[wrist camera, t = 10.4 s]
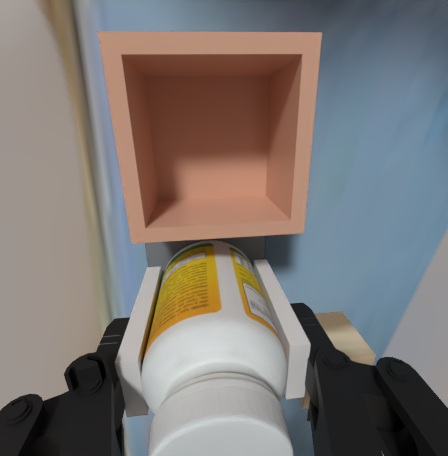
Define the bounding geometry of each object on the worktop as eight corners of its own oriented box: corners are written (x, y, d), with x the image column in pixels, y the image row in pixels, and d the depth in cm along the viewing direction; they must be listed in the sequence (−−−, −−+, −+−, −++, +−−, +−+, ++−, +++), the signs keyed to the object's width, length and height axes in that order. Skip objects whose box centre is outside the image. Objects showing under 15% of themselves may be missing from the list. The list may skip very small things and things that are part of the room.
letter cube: (287, 314, 19) (310, 362, 15) (341, 311, 19) (376, 356, 16) (283, 358, 21) (303, 411, 17) (333, 353, 21) (363, 404, 17)
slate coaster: (144, 224, 16) (142, 228, 15) (263, 218, 16) (265, 221, 16) (158, 321, 18) (156, 328, 17) (260, 313, 19) (262, 318, 18)
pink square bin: (133, 65, 13) (97, 31, 8) (278, 64, 13) (322, 32, 9) (151, 207, 15) (131, 243, 11) (271, 201, 16) (303, 233, 11)
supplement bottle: (264, 247, 16) (354, 411, 7) (238, 320, 17) (283, 527, 8) (172, 228, 15) (136, 390, 6) (155, 307, 16) (106, 526, 7)
